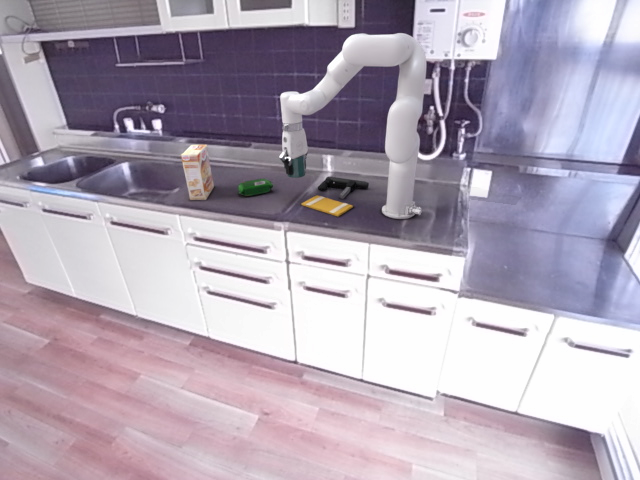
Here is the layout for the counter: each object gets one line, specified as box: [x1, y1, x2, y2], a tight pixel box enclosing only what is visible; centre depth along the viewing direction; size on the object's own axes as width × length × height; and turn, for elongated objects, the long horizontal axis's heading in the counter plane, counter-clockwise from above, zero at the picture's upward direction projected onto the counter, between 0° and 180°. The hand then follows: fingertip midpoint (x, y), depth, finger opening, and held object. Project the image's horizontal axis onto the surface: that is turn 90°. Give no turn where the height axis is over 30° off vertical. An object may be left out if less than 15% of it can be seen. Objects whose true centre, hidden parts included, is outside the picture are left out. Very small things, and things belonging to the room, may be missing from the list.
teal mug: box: [283, 155, 306, 179], centre depth 150 cm, size 10×7×8 cm
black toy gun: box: [317, 176, 370, 200], centre depth 162 cm, size 3×20×16 cm
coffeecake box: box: [180, 144, 215, 201], centre depth 159 cm, size 15×7×20 cm, turn 0°
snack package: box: [237, 178, 274, 197], centre depth 161 cm, size 7×16×5 cm, turn 112°
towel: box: [301, 195, 354, 217], centre depth 149 cm, size 18×10×1 cm, turn 52°
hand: (296, 171), depth 151 cm, fingers closed on teal mug, 7 cm apart
